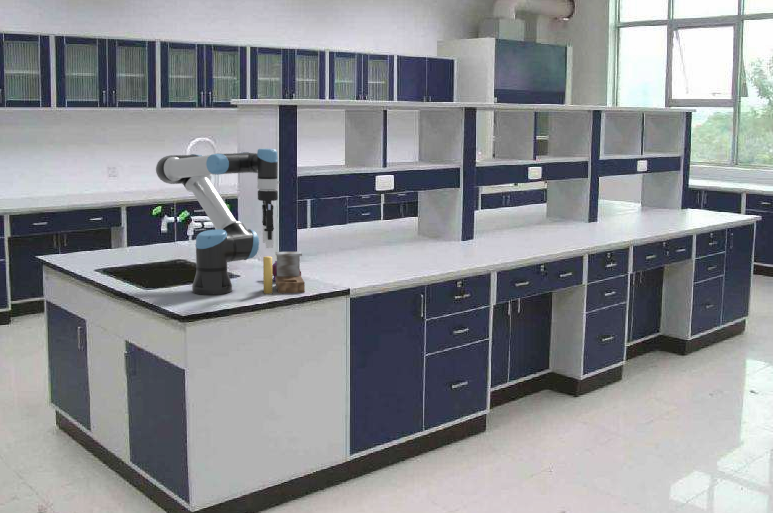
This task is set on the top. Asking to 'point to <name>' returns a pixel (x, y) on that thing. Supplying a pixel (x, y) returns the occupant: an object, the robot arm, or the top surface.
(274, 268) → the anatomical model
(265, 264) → the peg
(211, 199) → the robot arm
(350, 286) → the top surface
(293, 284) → the peg socket stand
